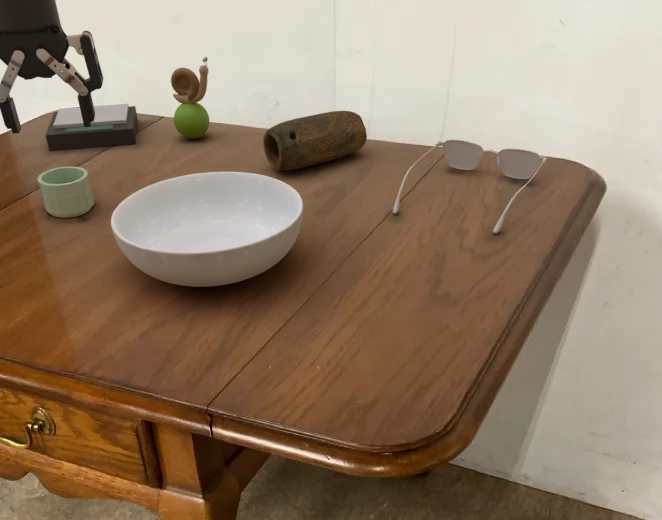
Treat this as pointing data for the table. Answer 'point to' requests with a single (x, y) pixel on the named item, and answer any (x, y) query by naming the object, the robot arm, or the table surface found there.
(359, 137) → the hollow wooden cylinder
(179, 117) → the snail figurine
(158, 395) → the table surface
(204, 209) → the serving bowl
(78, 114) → the scale
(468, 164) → the eyeglasses
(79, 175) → the dip bowl
